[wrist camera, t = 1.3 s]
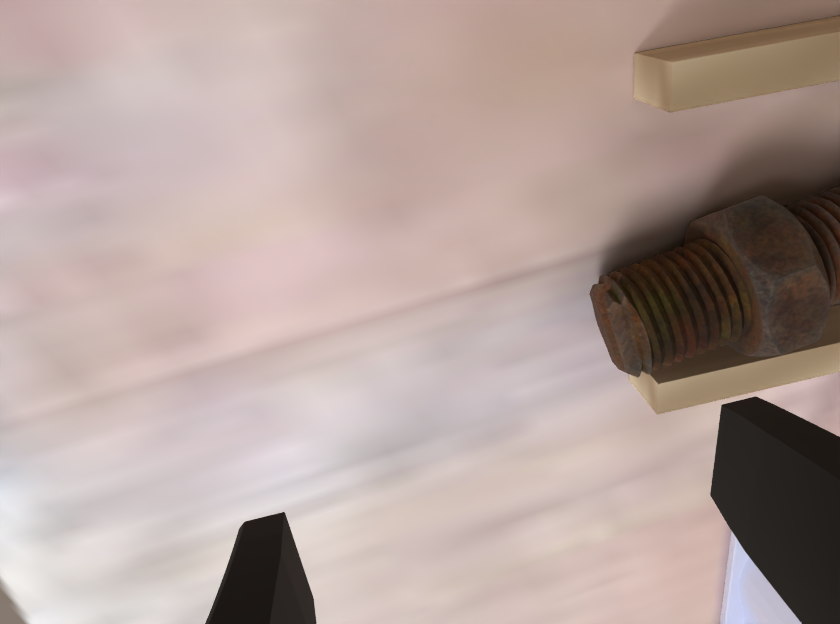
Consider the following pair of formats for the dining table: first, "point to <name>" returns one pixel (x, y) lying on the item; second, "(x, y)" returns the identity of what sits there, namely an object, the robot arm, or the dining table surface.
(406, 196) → the dining table surface
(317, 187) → the dining table surface
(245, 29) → the dining table surface
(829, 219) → the bolt
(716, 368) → the guide channel
